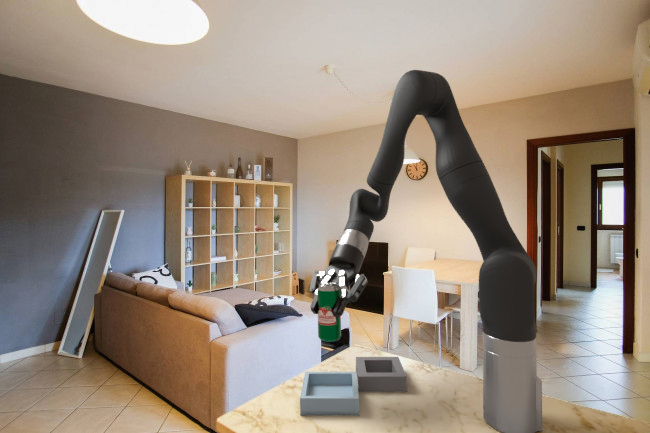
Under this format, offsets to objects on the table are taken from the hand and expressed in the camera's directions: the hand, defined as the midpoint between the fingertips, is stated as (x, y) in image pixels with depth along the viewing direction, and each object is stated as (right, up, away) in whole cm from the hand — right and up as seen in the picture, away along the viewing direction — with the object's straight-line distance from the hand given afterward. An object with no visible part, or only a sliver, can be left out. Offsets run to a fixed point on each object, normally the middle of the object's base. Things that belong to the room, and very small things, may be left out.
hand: (324, 313), depth 75 cm
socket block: (+13, -19, +10) cm, 26 cm away
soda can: (+1, -6, +2) cm, 6 cm away
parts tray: (+1, -19, +2) cm, 20 cm away
